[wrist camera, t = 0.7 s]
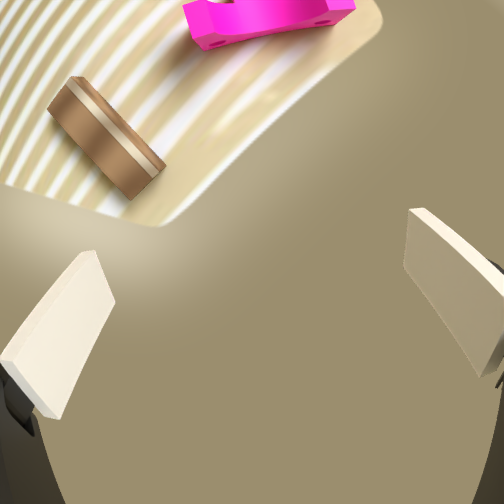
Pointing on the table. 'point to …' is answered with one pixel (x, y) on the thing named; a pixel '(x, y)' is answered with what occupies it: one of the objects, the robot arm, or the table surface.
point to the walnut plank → (105, 136)
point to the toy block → (258, 18)
